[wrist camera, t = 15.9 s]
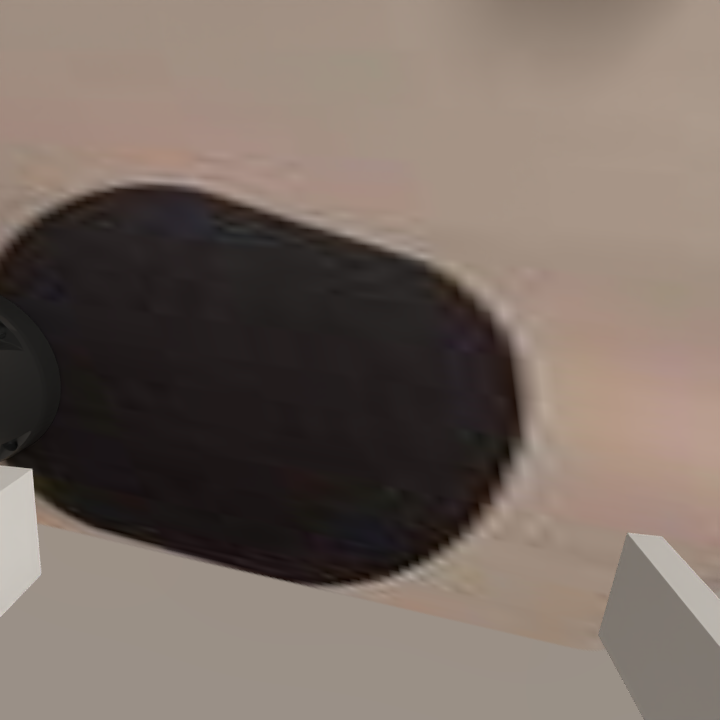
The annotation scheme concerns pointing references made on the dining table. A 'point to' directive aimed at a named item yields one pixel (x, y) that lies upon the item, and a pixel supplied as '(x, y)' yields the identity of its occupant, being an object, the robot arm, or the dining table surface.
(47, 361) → the robot arm
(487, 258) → the dining table surface
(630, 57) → the dining table surface
